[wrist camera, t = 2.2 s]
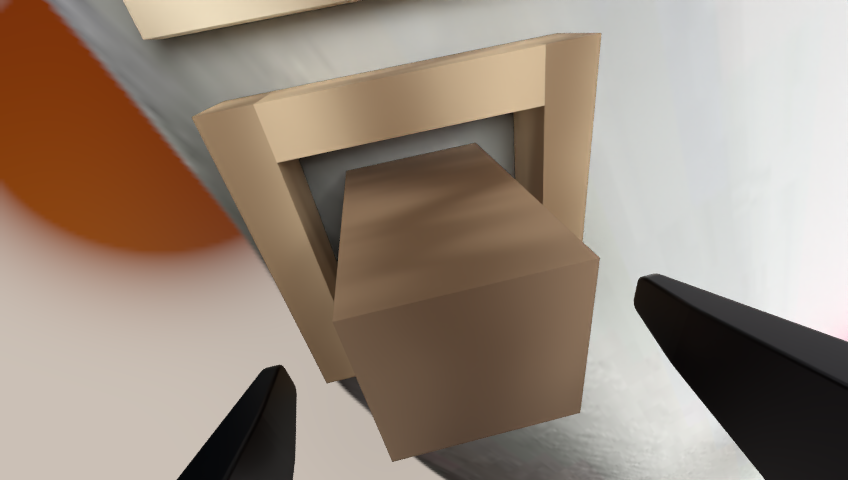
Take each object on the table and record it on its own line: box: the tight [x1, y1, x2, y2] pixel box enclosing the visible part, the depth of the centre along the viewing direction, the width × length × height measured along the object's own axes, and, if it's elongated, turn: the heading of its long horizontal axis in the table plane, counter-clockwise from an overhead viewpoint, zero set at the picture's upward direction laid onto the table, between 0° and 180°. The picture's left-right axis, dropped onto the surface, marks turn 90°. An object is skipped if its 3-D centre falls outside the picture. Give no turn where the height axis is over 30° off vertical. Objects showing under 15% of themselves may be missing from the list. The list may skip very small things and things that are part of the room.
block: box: [332, 143, 600, 462], centre depth 11 cm, size 5×5×8 cm
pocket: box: [192, 33, 601, 383], centre depth 13 cm, size 11×11×2 cm
